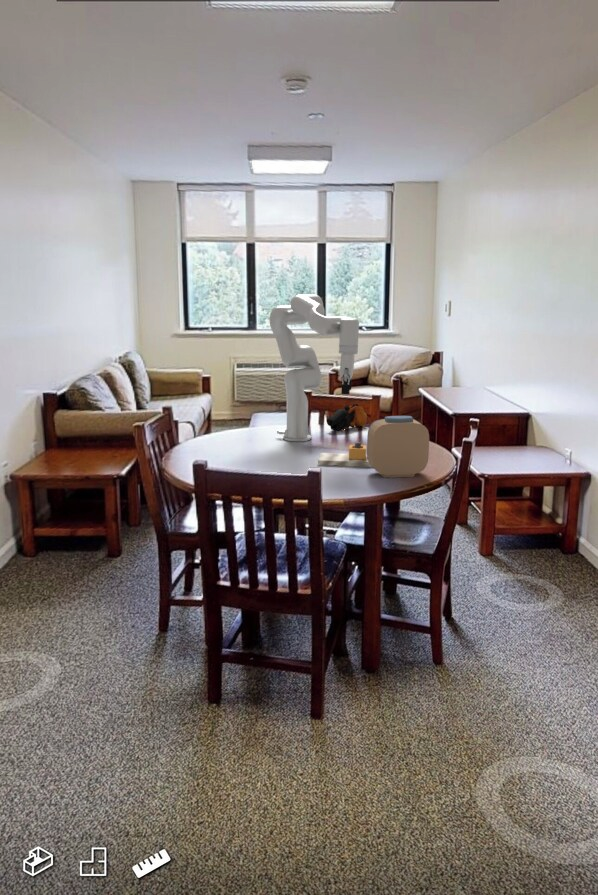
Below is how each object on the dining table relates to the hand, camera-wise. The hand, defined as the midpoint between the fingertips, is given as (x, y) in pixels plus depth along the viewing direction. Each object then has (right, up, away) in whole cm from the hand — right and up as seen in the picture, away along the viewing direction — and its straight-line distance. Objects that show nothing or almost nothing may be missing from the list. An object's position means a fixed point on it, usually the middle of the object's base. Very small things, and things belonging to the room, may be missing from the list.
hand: (346, 391), depth 278 cm
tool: (+4, -14, +54) cm, 55 cm away
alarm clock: (+17, -33, -25) cm, 45 cm away
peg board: (0, -28, -9) cm, 30 cm away
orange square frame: (+4, -26, -10) cm, 28 cm away
